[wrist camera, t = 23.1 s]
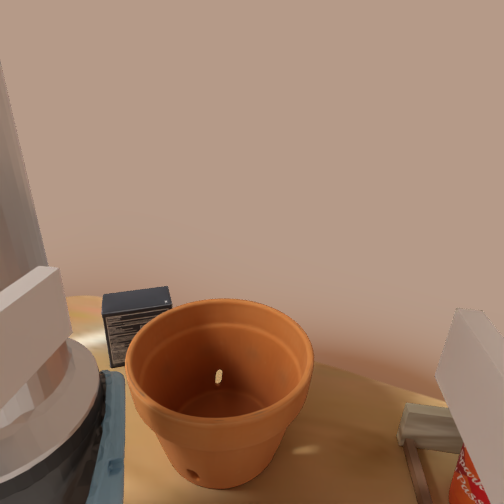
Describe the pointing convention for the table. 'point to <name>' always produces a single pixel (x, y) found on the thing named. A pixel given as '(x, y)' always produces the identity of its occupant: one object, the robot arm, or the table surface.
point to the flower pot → (219, 386)
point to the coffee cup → (466, 482)
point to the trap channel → (426, 440)
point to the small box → (130, 317)
